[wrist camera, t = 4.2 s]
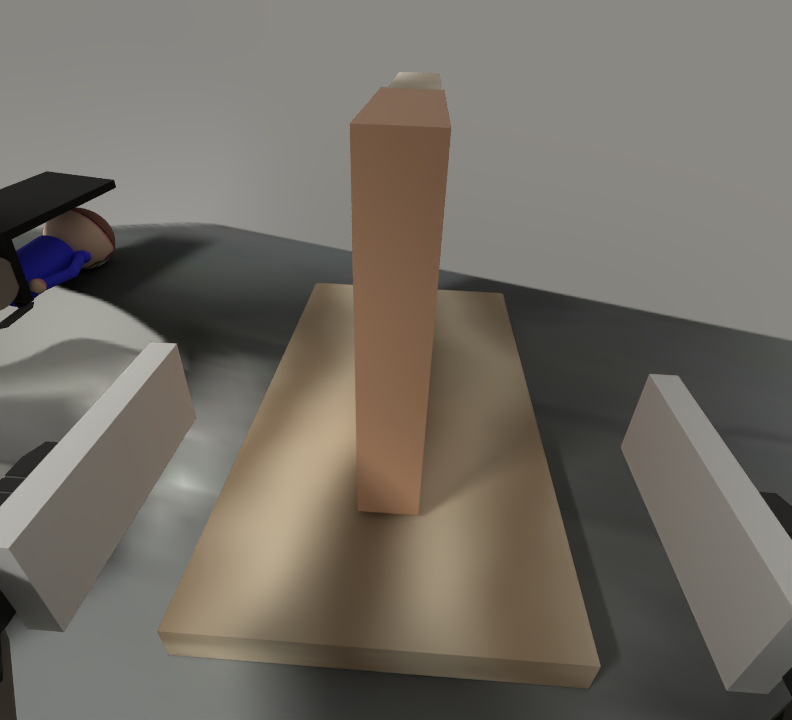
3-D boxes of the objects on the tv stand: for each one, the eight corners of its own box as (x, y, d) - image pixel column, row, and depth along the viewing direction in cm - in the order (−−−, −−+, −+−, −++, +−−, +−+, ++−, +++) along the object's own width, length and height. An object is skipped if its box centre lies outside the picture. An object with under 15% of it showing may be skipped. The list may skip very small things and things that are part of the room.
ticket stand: (168, 654, 17) (-51, 178, 8) (317, 300, 38) (302, 68, 30) (588, 688, 16) (843, 221, 7) (499, 310, 38) (538, 77, 29)
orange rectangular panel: (357, 511, 20) (350, 123, 12) (377, 381, 27) (381, 87, 19) (418, 515, 19) (451, 128, 12) (422, 384, 27) (444, 90, 19)
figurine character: (18, 364, 33) (144, 254, 44) (-47, 261, 28) (113, 167, 39) (-72, 353, 33) (75, 248, 45) (-152, 250, 28) (36, 161, 40)
